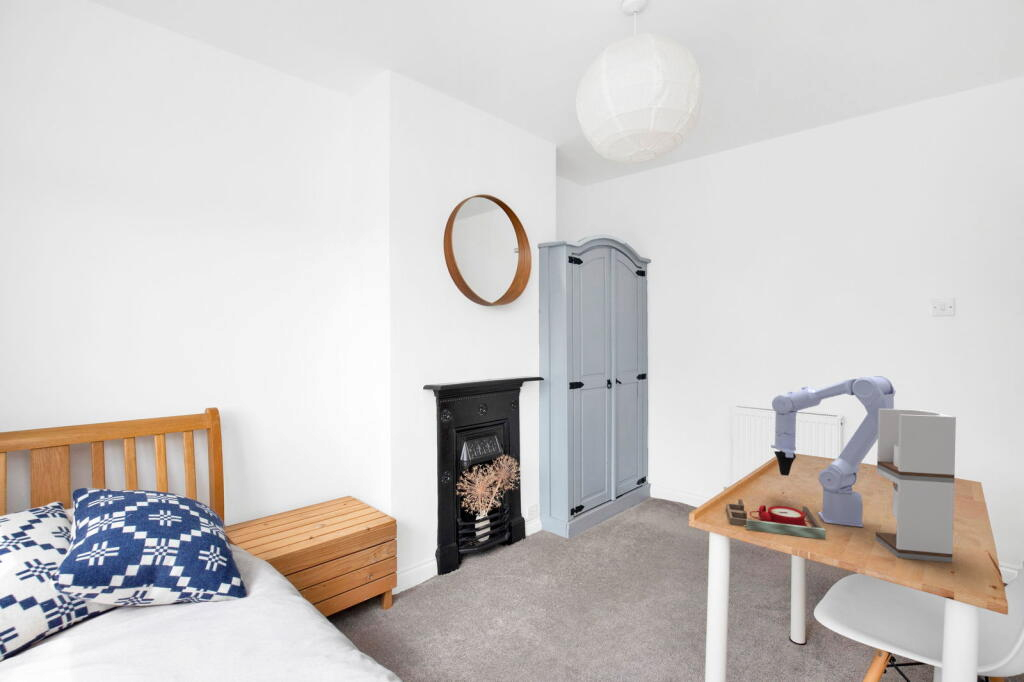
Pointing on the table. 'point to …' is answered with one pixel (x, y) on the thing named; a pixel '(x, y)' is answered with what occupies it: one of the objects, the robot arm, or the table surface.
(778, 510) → the alarm clock
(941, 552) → the display case
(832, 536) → the table surface
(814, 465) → the table surface
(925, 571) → the table surface
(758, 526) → the wall
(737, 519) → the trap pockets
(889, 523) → the table surface
